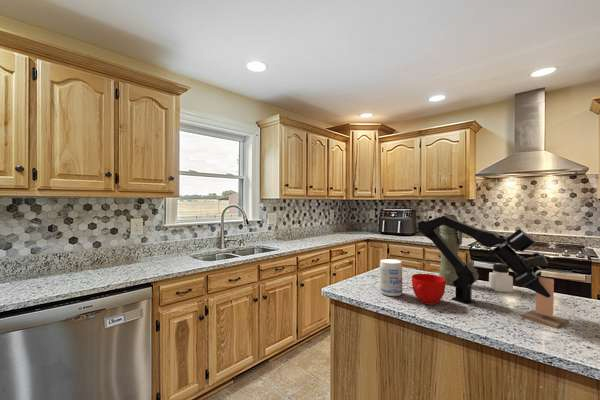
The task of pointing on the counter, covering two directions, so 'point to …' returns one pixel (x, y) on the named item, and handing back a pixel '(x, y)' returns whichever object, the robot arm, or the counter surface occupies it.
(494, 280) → the medicine bottle
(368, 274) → the counter surface
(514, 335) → the counter surface
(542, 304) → the terracotta block
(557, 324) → the walnut board
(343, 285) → the counter surface
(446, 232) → the thermos
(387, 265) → the supplement tub
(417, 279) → the ceramic cup
